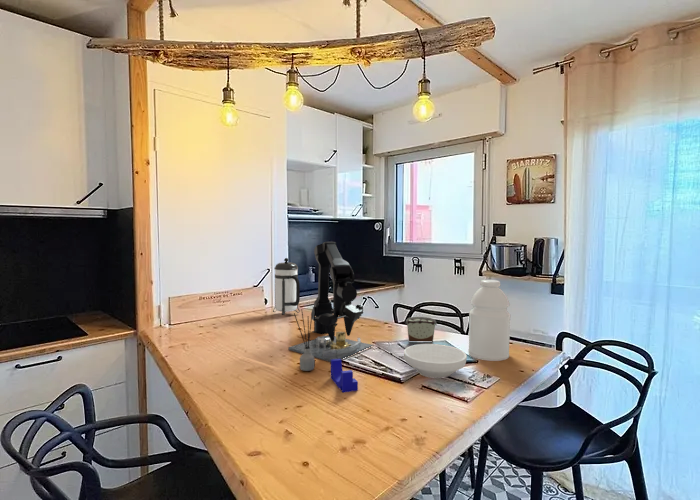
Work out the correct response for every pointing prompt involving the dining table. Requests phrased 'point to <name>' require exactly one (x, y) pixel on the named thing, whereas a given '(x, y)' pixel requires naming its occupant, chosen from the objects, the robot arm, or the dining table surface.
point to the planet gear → (340, 341)
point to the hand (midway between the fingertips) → (340, 338)
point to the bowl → (435, 359)
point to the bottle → (489, 323)
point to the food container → (420, 328)
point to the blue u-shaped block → (343, 377)
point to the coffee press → (286, 287)
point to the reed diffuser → (306, 351)
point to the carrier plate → (323, 348)
